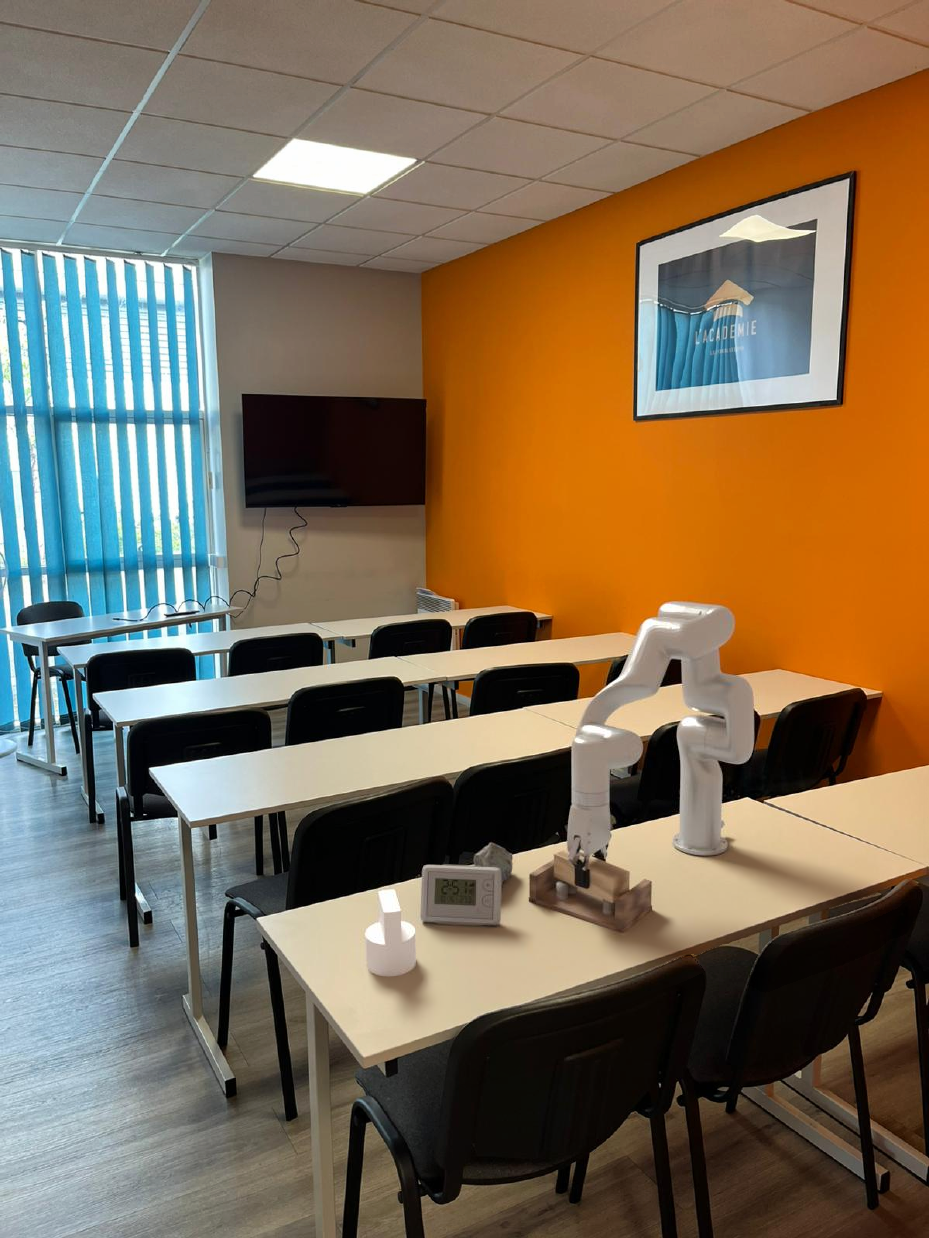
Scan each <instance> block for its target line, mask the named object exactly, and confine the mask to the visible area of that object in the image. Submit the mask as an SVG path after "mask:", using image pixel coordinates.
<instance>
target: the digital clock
mask: <svg viewBox="0 0 929 1238" xmlns="http://www.w3.org/2000/svg"><path fill="white" fill-rule="evenodd" d="M501 879H502V878H501V870H500V869H499V868H495V867H481V866H474V865H469V864H467V865H466V864H462V865H461V864H441V865H440V864H426V865H423V867H422V870H421V886H420V887H421V891H420V920H421V921H423V922H425V923H437V924H439V925H456V926H477V927H481V926H498V925H499V924H500V922H501V920H502V919H501V917H502V915H501V913H502V884H501Z"/></svg>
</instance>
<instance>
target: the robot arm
mask: <svg viewBox="0 0 929 1238" xmlns="http://www.w3.org/2000/svg"><path fill="white" fill-rule="evenodd" d="M735 620H736V619H735V616H734V614H733V613H732V611H731V610H730V609H729V608H728V607H725V606H723V605H719V604H718V605H717V604H707V603H699V602H692V601H691V602H690V601H675V600H674V601H668V602H665V603H663V604H662V605H661V606H660V607H659V609H658V612H657V617H656V616H655V617H650V618H647V619H646V620H644V621H643V622H642V624H641V625H640V627H639V629H638V631H637V633H636V636H635V638H634V641H633V643H632V645H631V648H630V651H629V653H628V656H627V658H626V660H625V663H624V665H623V668H622V670H621V673H620V674H619V676H618V677H617V678H616V679H615V680H613V681H612V682H610V683H608V685H606V686H605V687H604V688H602V689H601V690H600V691H599V692H597V693H596V694H595V695H594V696H593V698H591V700H590V701H589V702H588V704H587V705H586V706H585V709H584V710H583V713H582V715H581V717H580V721H579V722H578V725H577V728H576V732H575V737H574V738H573V739H572V742H571V805H570V809H569V813H568V814H569V815H568V821H567V823H568V824H567V833H566V834H567V837H566V838H567V839H566V849H567V850H568V852H570V853H569V855H568V860H569V861H570V862H571V863H572V864H573V867H574V868H575V885H576V886H579V887H582V888H585V889H588V888H589V887H590V870H589V869H588V863H589V858H590V856H592V857H595V858H597V859H600V860H602V861H605V862H607V857H608V851H607V850H608V848H609V846H610V845H609V843H610V841H611V838H612V833H611V831H612V829H611V812H610V811H611V810H610V770H612V769H621V768H628V767H630V766H633V765H634V764H636V763H637V762H638V761H639V760H640V759H641V756H642V754H643V751H644V743H643V740H642V739H641V737H640V736H639V735H638V733H635V732H633V731H631V730H628V729H625V728H624V729H623V728H620V727H617V726H612V725H608V724H607V725H606V722H607V720H608V719H609V717H610V716H611V715H612V714H613V713H614V712H615V711H617V710H618V709H620V708H621V707H624V706H625V705H628V704H632V703H635V702H638V701H642V700H645V699H648V698H651V697H653V696H656V694H657V693H658V692H659V690H660V687H661V684H662V682H663V681H664V680H663V679H664V677H665V674H666V672H667V670H668V666H669V664H670V663H671V660H681V661H680V663H681V689H682V700H683V704H685V706H686V707H687V708H688V709H690V710H693V711H696V712H701V713H705V714H711V715H716V716H711V715H705V714H690V715H687V716H685V717H683V718H682V719H681V720H680V722H679V723H678V725H677V728H676V729H677V730H676V740H677V741H676V742H677V746H678V751H679V760H680V761H679V762H680V784H679V785H680V786H679V787H680V789H679V795H680V796H679V828H678V829H679V832H678V833H676V834H675V835H673V837H672V846H674V847H675V848H676V849H677V850H678V851H681V852H683V853H686V854H689V855H695V856H705V857H707V856H716V855H717V856H718V855H720V854H722V853H724V852H726V851H727V850H728V841H727V840H726V838H724V837H723V836H722V829H723V828H724V827H725V822H724V820H723V819H722V810H723V809H722V807H723V805H722V803H723V801H722V800H723V772H722V768H721V766H720V764H719V761H720V762H724V763H728V764H733V765H741V764H744V763H747V762H748V761H749V759H750V758H751V757H752V753H753V751H754V745H755V708H754V707H755V704H754V700H755V699H754V691H753V689H752V686H751V684H750V682H749V681H748V680H747V679H746V678H744V677H742V676H740V675H735V674H728V673H724V672H722V670H721V661H720V651H719V648H720V647H722V646H724V645H725V644H726V643H727V642H728V641H729V640H730V639H731V637H732V636H733V633H734V631H735V624H736V621H735ZM717 716H721V717H723V718H720V717H717ZM581 852H583V853H581ZM580 856H582V857H584V862H582V861H581V860H580V859H579V858H580Z"/></svg>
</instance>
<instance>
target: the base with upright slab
mask: <svg viewBox="0 0 929 1238" xmlns="http://www.w3.org/2000/svg"><path fill="white" fill-rule="evenodd" d="M395 890H396V889H383V890H379V891H378V892H377V894H378V897H377V899H378V918H379V919H378V922H375V923H374V924H371V925H370V926H369V927H367V928H366V931H365V934H364V936H365V937H364V939H365V958H366V959H365V961H366V965H365V966H366V968H367V970H368V971H369V972H370V973H372V974H373V975H375V976H376V975H377V976H381V977H398V976H401V975H404V974H407V973H408V972H410V971H412V970H413V969H414V968H415V966H416V964H417V955H416V954H417V952H416V951H417V949H416V929H415V926H414V925H413V924H411V923H409V922H407V921H403V920H402V910H401V907H400V904H399V900H398V897H397V894H396V891H395Z"/></svg>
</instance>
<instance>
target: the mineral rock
mask: <svg viewBox="0 0 929 1238" xmlns="http://www.w3.org/2000/svg"><path fill="white" fill-rule="evenodd" d="M513 865H514V864H513V853H510V852H509V851H507V850H506V848H505V847H503V846H500V845H499V844H496V843H494V842H489V843H488V845H486V846H484V847H483V848H482V849H481V850H479V851H478V852H477V853H475V854H474V857H473V866H481V867H495V868H499V869H500V870H501V878H502V879H501V885H502V884H503V882H505V881H506V880H507V879H508V878H510V876H511V874H512V872H513Z"/></svg>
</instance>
